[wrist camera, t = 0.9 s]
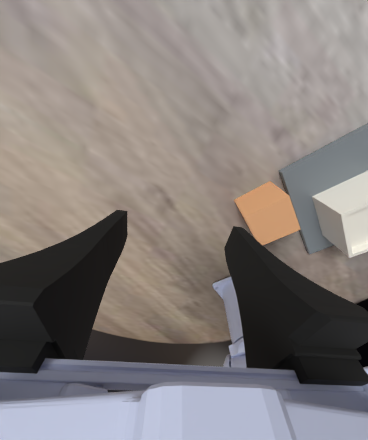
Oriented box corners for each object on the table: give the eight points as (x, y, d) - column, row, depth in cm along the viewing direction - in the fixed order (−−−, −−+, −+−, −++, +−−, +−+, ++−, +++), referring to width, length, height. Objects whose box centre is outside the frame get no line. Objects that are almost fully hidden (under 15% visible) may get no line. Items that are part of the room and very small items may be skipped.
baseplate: (376, 223, 23) (382, 227, 22) (306, 250, 25) (309, 254, 25) (369, 122, 17) (376, 122, 16) (278, 170, 20) (282, 172, 19)
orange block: (281, 210, 22) (300, 229, 18) (247, 225, 24) (259, 246, 20) (269, 181, 20) (289, 195, 16) (233, 199, 22) (244, 217, 18)
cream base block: (379, 212, 21) (421, 232, 17) (322, 234, 23) (349, 257, 19) (377, 166, 18) (426, 178, 15) (312, 196, 20) (340, 214, 16)
